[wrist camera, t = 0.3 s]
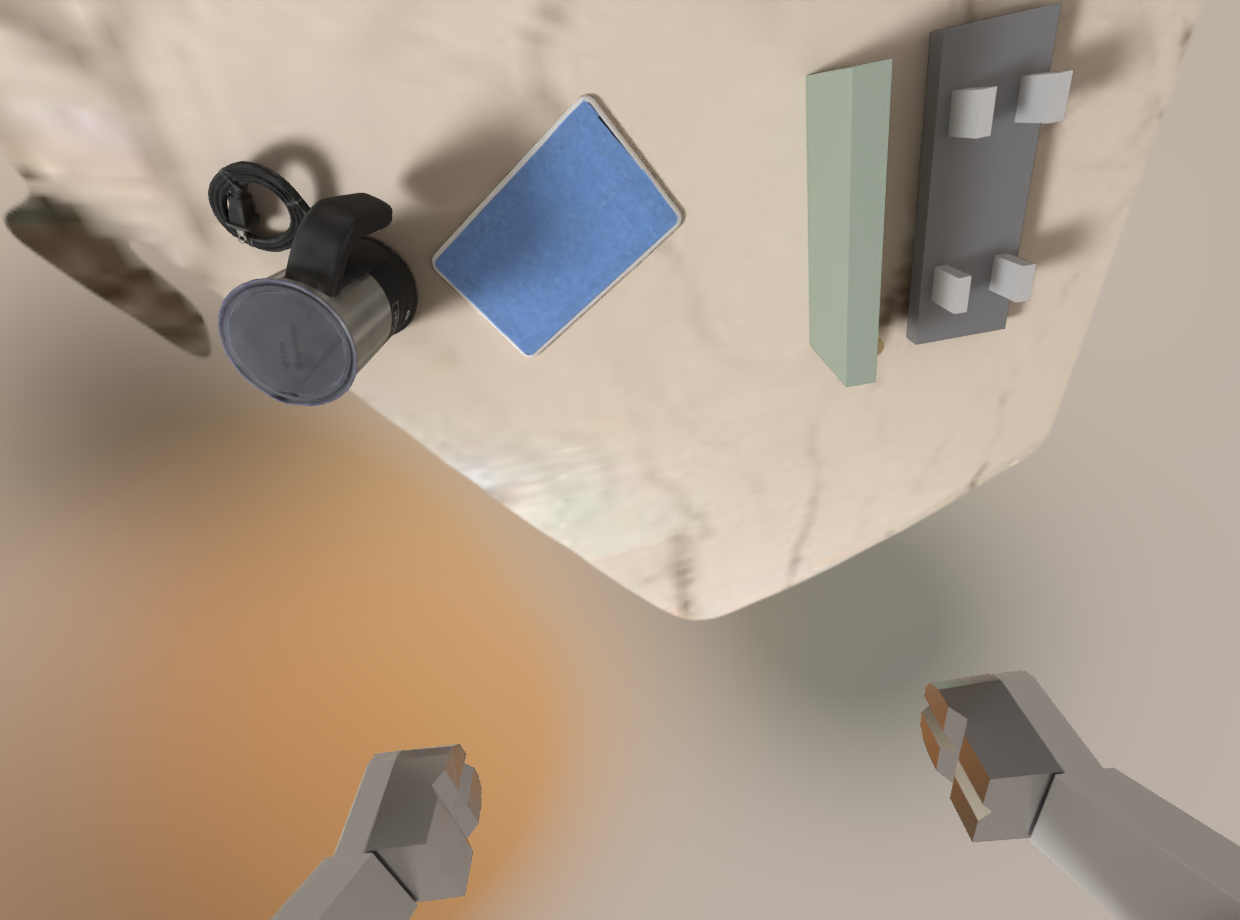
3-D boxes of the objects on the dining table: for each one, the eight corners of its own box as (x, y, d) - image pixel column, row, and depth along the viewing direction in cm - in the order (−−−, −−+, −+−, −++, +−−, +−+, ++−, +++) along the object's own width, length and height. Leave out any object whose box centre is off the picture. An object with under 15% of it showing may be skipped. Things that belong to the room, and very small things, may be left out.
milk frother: (420, 344, 54) (363, 414, 42) (248, 322, 53) (134, 388, 40) (413, 181, 47) (341, 206, 34) (213, 150, 45) (60, 165, 33)
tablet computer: (587, 88, 44) (586, 88, 43) (686, 218, 49) (688, 220, 48) (429, 259, 51) (425, 263, 49) (531, 358, 56) (529, 363, 55)
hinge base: (930, 32, 42) (974, 21, 37) (1042, 6, 41) (1104, -8, 36) (906, 337, 55) (936, 360, 49) (992, 321, 54) (1032, 343, 49)
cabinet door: (805, 75, 44) (852, 67, 35) (856, 64, 43) (917, 52, 35) (809, 344, 55) (845, 387, 46) (850, 337, 55) (894, 378, 46)
